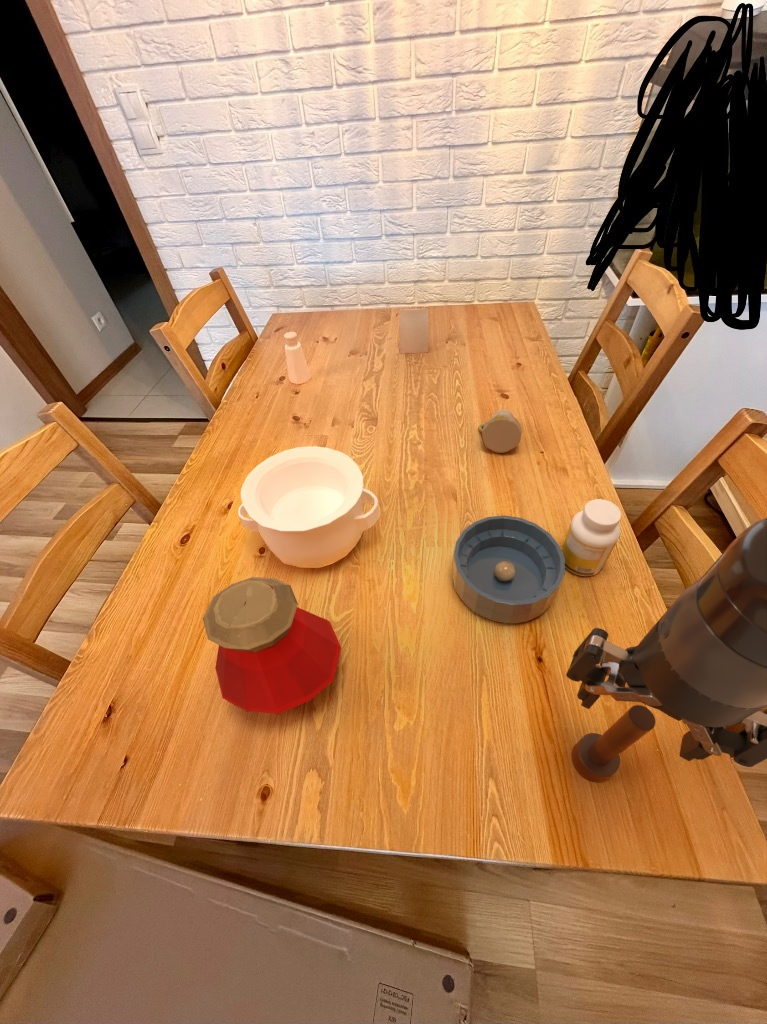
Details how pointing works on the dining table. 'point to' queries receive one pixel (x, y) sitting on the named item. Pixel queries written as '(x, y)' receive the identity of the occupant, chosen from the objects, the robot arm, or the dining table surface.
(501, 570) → the bead
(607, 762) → the masher
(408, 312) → the grey rectangular block
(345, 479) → the pot
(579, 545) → the pill bottle
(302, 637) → the red jar
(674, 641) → the robot arm
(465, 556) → the bowl
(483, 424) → the mug
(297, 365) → the salt shaker
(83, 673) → the dining table surface
